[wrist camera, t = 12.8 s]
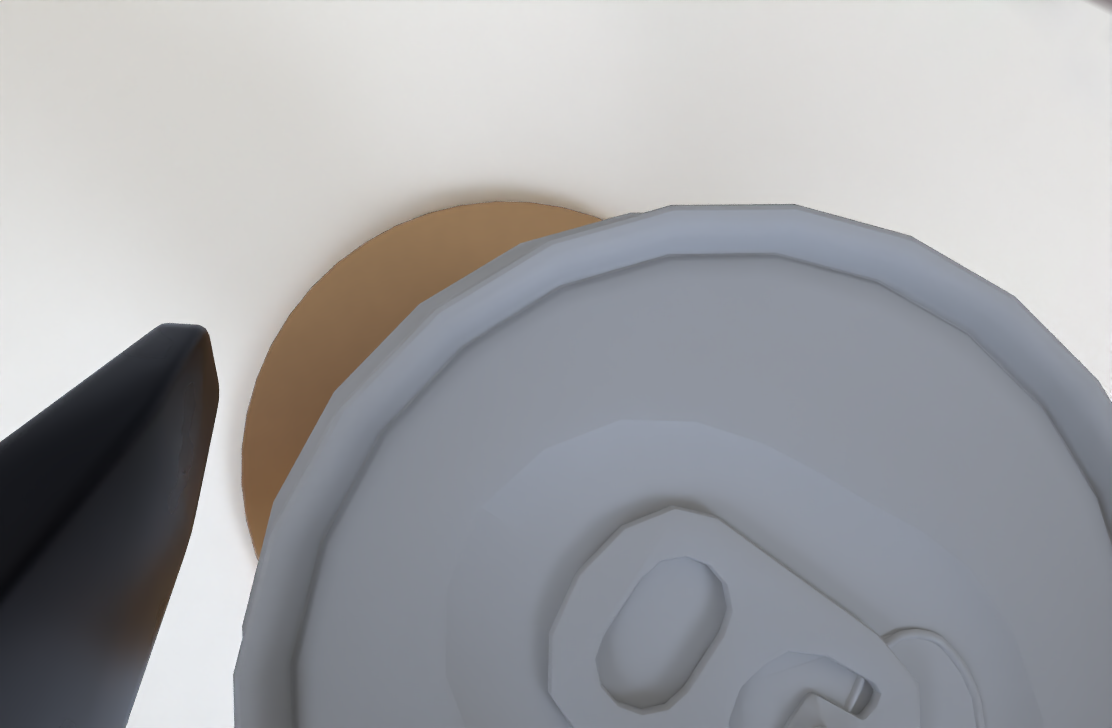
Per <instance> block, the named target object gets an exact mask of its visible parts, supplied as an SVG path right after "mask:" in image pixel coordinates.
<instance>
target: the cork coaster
mask: <svg viewBox="0 0 1112 728" xmlns="http://www.w3.org/2000/svg"><path fill="white" fill-rule="evenodd" d="M599 221H603V220H601V219H599V218H597V217H594V216H591V215H588V214H584V213H581V212H577V211H574V210H570V209H567V208H563V207H558V206H551V205H545V204H538V203H532V202H500V201H495V202H485V203H476V204H467V205H460V206H456V207H452V208H447V209H443V210H439V211H435V212H431V213H427V214H425V215H422V216H420V217H417V218H414V219H412V220H409V221H407V222H404V223H401V224H399V225H396V226H394V227H393V228H391V229H389V230H387V231H385V232H383V233H382V234H380V235H378V236H376V237H374V238H372V239H371V240H369V241H367V242H365V243H364V244H362V245H361V246H360V247H358V248H357V249H356V250H354V251H353V252H351V253H350V254H349V255H347V256H346V257H345V258H343V259H342V260H341V261H339V262H338V263H337V264H336V265H334V266H333V267H332V268H331V269H330V270H329V271H328V272H327V273H326V274H325V275H324V276H323V277H322V278H321V279H320V280H319V281H318V282H317V283H316V284H315V285H314V286H312V287H311V289H310V290H309V291H308V292H307V294H306V295H305V296H304V297H303V299H302V300H301V301H300V302H299V304H298V305H297V306H296V307H295V309H294V310H293V311H292V312H291V314H290V315H289V317H288V318H287V320H286V321H285V323H284V325H283V326H282V328H281V330H280V331H279V333H278V335H277V336H276V338H275V340H274V341H273V343H272V345H271V347H270V349H269V351H268V353H267V356H266V358H265V360H264V363H263V365H262V367H261V370H260V372H259V374H258V376H257V379H256V382H255V386H254V389H253V393H252V397H251V400H250V404H249V407H248V411H247V415H246V422H245V429H244V436H243V443H242V492H243V500H244V507H245V515H246V521H247V525H248V529H249V532H250V536H251V540H252V543H253V547H254V551H255V554H256V557H257V559H258V561H259V557H260V553H261V549H262V545H263V541H264V537H265V533H266V529H267V525H268V521H269V517H270V513H271V509H272V505H273V502H274V500H275V498H276V496H277V494H278V493H279V491H280V489H281V487H282V485H283V483H284V482H285V480H286V478H287V476H288V474H289V473H290V471H291V469H292V467H293V465H294V464H295V462H296V460H297V458H298V456H299V454H300V453H301V451H302V449H303V447H304V445H305V444H306V442H307V440H308V438H309V436H310V434H311V433H312V431H313V429H314V427H315V425H316V424H317V422H318V420H319V418H320V416H321V415H322V413H323V411H324V409H325V407H326V405H327V404H328V402H329V400H330V398H331V396H332V395H333V393H334V391H335V390H336V389H337V388H338V387H339V386H340V385H341V384H342V383H343V382H344V381H345V380H346V379H347V378H348V377H349V376H350V375H351V374H352V373H353V372H354V371H355V370H356V369H357V368H358V367H359V366H360V365H361V364H362V363H363V362H364V360H365V359H366V358H367V357H368V356H369V355H370V354H371V353H372V352H373V351H374V350H375V349H376V348H377V347H378V346H379V345H380V344H381V343H382V342H383V341H384V340H385V339H386V338H387V337H388V336H389V335H390V334H391V333H392V332H393V331H394V330H395V329H396V328H397V326H398V325H399V324H400V323H401V322H402V321H403V320H404V319H405V318H406V317H407V316H408V315H409V314H410V313H411V312H412V311H413V310H414V309H415V308H416V307H417V306H418V305H419V304H420V303H422V302H424V301H425V300H427V299H429V298H430V297H432V296H434V295H435V294H437V293H439V292H440V291H442V290H444V289H445V288H447V287H449V286H450V285H452V284H454V283H455V282H457V281H458V280H460V279H462V278H463V277H465V276H467V275H468V274H470V273H472V272H473V271H475V270H477V269H478V268H480V267H482V266H483V265H485V264H487V263H488V262H490V261H492V260H493V259H495V258H497V257H498V256H500V255H502V254H503V253H505V252H507V251H508V250H510V249H512V248H513V247H515V246H517V245H518V244H520V243H523V242H527V241H530V240H534V239H538V238H541V237H545V236H548V235H552V234H556V233H559V232H563V231H566V230H570V229H574V228H577V227H581V226H585V225H588V224H592V223H595V222H599Z"/></svg>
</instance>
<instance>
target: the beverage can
mask: <svg viewBox="0 0 1112 728" xmlns="http://www.w3.org/2000/svg"><path fill="white" fill-rule="evenodd" d="M242 631H243V638H242V642H241V646H240V650H239V654H238V658H237V662H236V666H235V670H234V674H233V683H234V724H235V728H1112V402H1111V401H1110V399H1109V397H1108V396H1107V394H1106V392H1105V391H1104V389H1103V387H1102V386H1101V384H1100V382H1099V381H1098V380H1097V379H1096V378H1095V377H1094V376H1093V375H1092V374H1091V373H1090V372H1089V371H1088V370H1087V369H1086V368H1085V367H1084V366H1083V364H1082V363H1081V362H1080V361H1079V360H1078V359H1077V358H1076V357H1075V356H1074V355H1073V354H1072V353H1071V352H1070V351H1069V350H1068V349H1067V348H1066V347H1065V346H1064V345H1063V344H1062V343H1061V342H1060V341H1059V340H1058V339H1057V338H1056V337H1055V336H1054V335H1053V334H1052V333H1051V332H1050V331H1049V330H1048V329H1047V328H1046V327H1045V326H1044V325H1043V324H1042V323H1041V322H1040V321H1039V320H1038V319H1037V318H1036V317H1035V316H1034V315H1033V314H1032V313H1031V312H1030V311H1029V310H1028V309H1027V308H1026V307H1025V306H1024V305H1023V304H1022V303H1021V302H1020V301H1019V300H1018V299H1017V298H1016V297H1015V296H1013V295H1011V294H1010V293H1008V292H1006V291H1005V290H1003V289H1001V288H999V287H998V286H996V285H994V284H993V283H991V282H989V281H987V280H986V279H984V278H982V277H981V276H979V275H977V274H975V273H974V272H972V271H970V270H969V269H967V268H965V267H963V266H962V265H960V264H958V263H956V262H955V261H953V260H951V259H950V258H948V257H946V256H944V255H943V254H941V253H939V252H938V251H936V250H934V249H932V248H931V247H929V246H927V245H926V244H924V243H922V242H920V241H919V240H917V239H915V238H914V237H912V236H909V235H906V234H902V233H898V232H895V231H891V230H887V229H884V228H880V227H876V226H873V225H869V224H865V223H862V222H858V221H854V220H851V219H847V218H843V217H840V216H836V215H833V214H829V213H825V212H822V211H818V210H814V209H811V208H807V207H803V206H800V205H796V204H752V205H670V206H666V207H663V208H659V209H655V210H652V211H648V212H645V213H628V214H624V215H621V216H617V217H614V218H610V219H606V220H603V221H599V222H595V223H592V224H588V225H585V226H581V227H577V228H574V229H570V230H566V231H563V232H559V233H556V234H552V235H548V236H545V237H541V238H538V239H534V240H530V241H527V242H523V243H520V244H518V245H517V246H515V247H513V248H512V249H510V250H508V251H507V252H505V253H503V254H502V255H500V256H498V257H497V258H495V259H493V260H492V261H490V262H488V263H487V264H485V265H483V266H482V267H480V268H478V269H477V270H475V271H473V272H472V273H470V274H468V275H467V276H465V277H463V278H462V279H460V280H458V281H457V282H455V283H454V284H452V285H450V286H449V287H447V288H445V289H444V290H442V291H440V292H439V293H437V294H435V295H434V296H432V297H430V298H429V299H427V300H425V301H424V302H422V303H420V304H419V305H418V306H417V307H416V308H415V309H414V310H413V311H412V312H411V313H410V314H409V315H408V316H407V317H406V318H405V319H404V320H403V321H402V322H401V323H400V324H399V325H398V326H397V328H396V329H395V330H394V331H393V332H392V333H391V334H390V335H389V336H388V337H387V338H386V339H385V340H384V341H383V342H382V343H381V344H380V345H379V346H378V347H377V348H376V349H375V350H374V351H373V352H372V353H371V354H370V355H369V356H368V357H367V358H366V359H365V360H364V362H363V363H362V364H361V365H360V366H359V367H358V368H357V369H356V370H355V371H354V372H353V373H352V374H351V375H350V376H349V377H348V378H347V379H346V380H345V381H344V382H343V383H342V384H341V385H340V386H339V387H338V388H337V389H336V390H335V391H334V393H333V395H332V396H331V398H330V400H329V402H328V404H327V405H326V407H325V409H324V411H323V413H322V415H321V416H320V418H319V420H318V422H317V424H316V425H315V427H314V429H313V431H312V433H311V434H310V436H309V438H308V440H307V442H306V444H305V445H304V447H303V449H302V451H301V453H300V454H299V456H298V458H297V460H296V462H295V464H294V465H293V467H292V469H291V471H290V473H289V474H288V476H287V478H286V480H285V482H284V483H283V485H282V487H281V489H280V491H279V493H278V494H277V496H276V498H275V500H274V502H273V505H272V509H271V513H270V517H269V521H268V525H267V529H266V533H265V537H264V541H263V545H262V549H261V553H260V557H259V561H258V565H257V569H256V573H255V577H254V581H253V585H252V589H251V593H250V597H249V601H248V605H247V609H246V613H245V617H244V621H243V625H242Z"/></svg>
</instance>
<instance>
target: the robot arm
mask: <svg viewBox="0 0 1112 728" xmlns="http://www.w3.org/2000/svg"><path fill="white" fill-rule="evenodd" d="M218 402H219V383H218V377H217V372H216V367H215V362H214V357H213V351H212V346H211V341H210V337H209V334H208V332H207V330H206V329H205V328H204V327H202V326H201V325H193V324H177V323H164V324H161V325H159V326H157V327H156V328H154V329H153V330H152V331H150V332H149V333H148V334H146V335H145V336H144V337H142V338H141V339H140V340H138V341H137V342H135V343H134V344H133V345H131V346H130V347H129V348H127V349H126V350H125V351H123V352H122V353H121V354H119V355H118V356H116V357H115V358H114V359H112V360H111V361H110V362H108V363H107V364H106V365H104V366H103V367H102V368H100V369H99V370H97V371H96V372H95V373H93V374H92V375H91V376H89V377H88V378H87V379H85V380H84V381H83V382H81V383H80V384H78V385H77V386H76V387H74V388H73V389H72V390H70V391H69V392H68V393H66V394H65V395H64V396H62V397H61V398H59V399H58V400H57V401H55V402H54V403H53V404H51V405H50V406H49V407H47V408H46V409H45V410H43V411H42V412H40V413H39V414H38V415H36V416H35V417H34V418H32V419H31V420H30V421H28V422H27V423H26V424H24V425H23V426H21V427H20V428H19V429H17V430H16V431H15V432H13V433H12V434H11V435H9V436H8V437H7V438H5V439H4V440H2V441H1V442H0V728H126V725H127V722H128V719H129V716H130V713H131V710H132V707H133V704H134V701H135V699H136V696H137V693H138V690H139V687H140V684H141V681H142V678H143V675H144V672H145V669H146V666H147V663H148V661H149V658H150V655H151V652H152V649H153V646H154V643H155V640H156V637H157V634H158V631H159V628H160V625H161V623H162V620H163V617H164V614H165V611H166V608H167V605H168V602H169V599H170V596H171V593H172V590H173V587H174V585H175V582H176V579H177V576H178V573H179V570H180V567H181V564H182V561H183V558H184V555H185V552H186V549H187V546H188V542H189V539H190V536H191V533H192V528H193V524H194V519H195V515H196V510H197V506H198V501H199V496H200V491H201V486H202V481H203V476H204V471H205V467H206V462H207V457H208V452H209V447H210V442H211V437H212V432H213V428H214V423H215V418H216V413H217V408H218Z"/></svg>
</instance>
